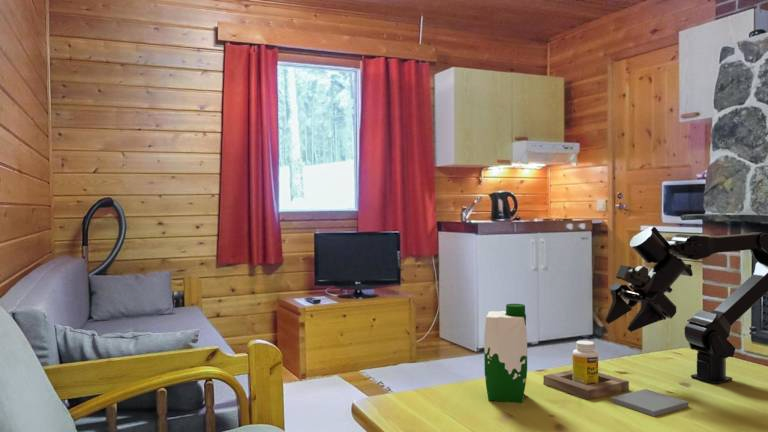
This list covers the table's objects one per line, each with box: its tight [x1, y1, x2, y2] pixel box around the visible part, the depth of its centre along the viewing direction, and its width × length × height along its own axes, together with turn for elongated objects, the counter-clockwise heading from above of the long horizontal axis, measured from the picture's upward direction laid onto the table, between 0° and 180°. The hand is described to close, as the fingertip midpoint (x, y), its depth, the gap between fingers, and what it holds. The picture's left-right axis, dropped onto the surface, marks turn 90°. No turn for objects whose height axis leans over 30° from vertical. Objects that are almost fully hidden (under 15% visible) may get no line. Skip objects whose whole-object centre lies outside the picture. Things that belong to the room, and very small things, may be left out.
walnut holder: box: [543, 369, 630, 401], centre depth 134 cm, size 13×13×2 cm
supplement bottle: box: [572, 340, 599, 385], centre depth 134 cm, size 6×6×10 cm
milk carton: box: [483, 303, 528, 404], centre depth 127 cm, size 9×9×20 cm
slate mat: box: [610, 388, 689, 417], centre depth 122 cm, size 11×10×1 cm
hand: (617, 326), depth 135 cm, fingers open, 9 cm apart
